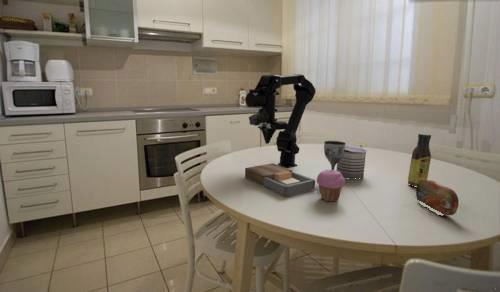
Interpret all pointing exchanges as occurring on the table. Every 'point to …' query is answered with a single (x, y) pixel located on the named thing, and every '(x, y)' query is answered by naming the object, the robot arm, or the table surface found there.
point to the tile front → (289, 181)
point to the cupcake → (330, 184)
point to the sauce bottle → (420, 160)
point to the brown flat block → (263, 172)
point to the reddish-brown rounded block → (437, 197)
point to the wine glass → (334, 151)
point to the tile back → (282, 175)
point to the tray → (293, 189)
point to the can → (352, 162)
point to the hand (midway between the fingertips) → (267, 143)
